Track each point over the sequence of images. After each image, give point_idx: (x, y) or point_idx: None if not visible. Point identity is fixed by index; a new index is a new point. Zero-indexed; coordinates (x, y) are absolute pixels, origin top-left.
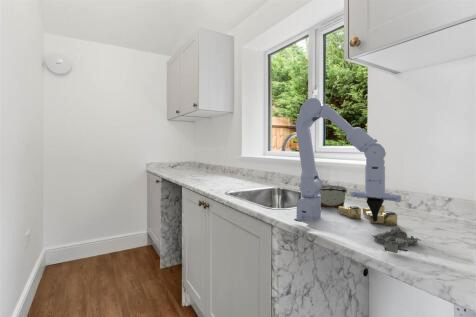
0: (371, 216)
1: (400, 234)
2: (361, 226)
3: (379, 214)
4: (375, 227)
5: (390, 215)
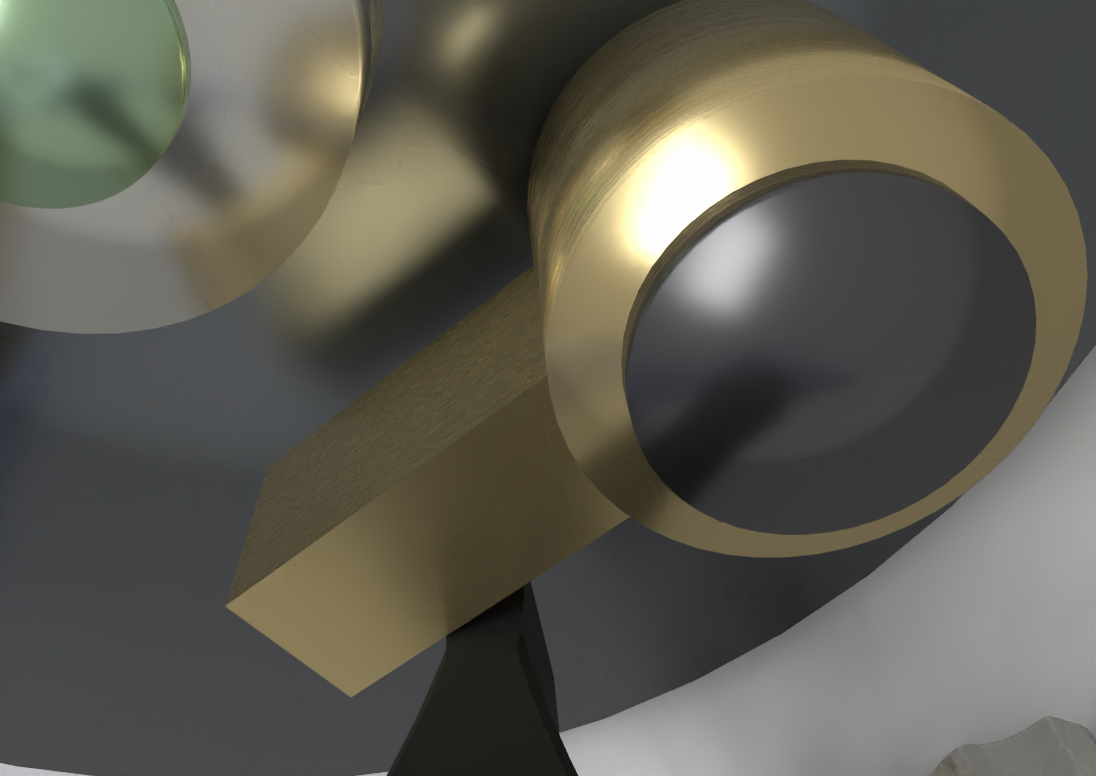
0: (374, 656)
1: None
2: None
3: (351, 142)
4: None
5: (880, 530)
